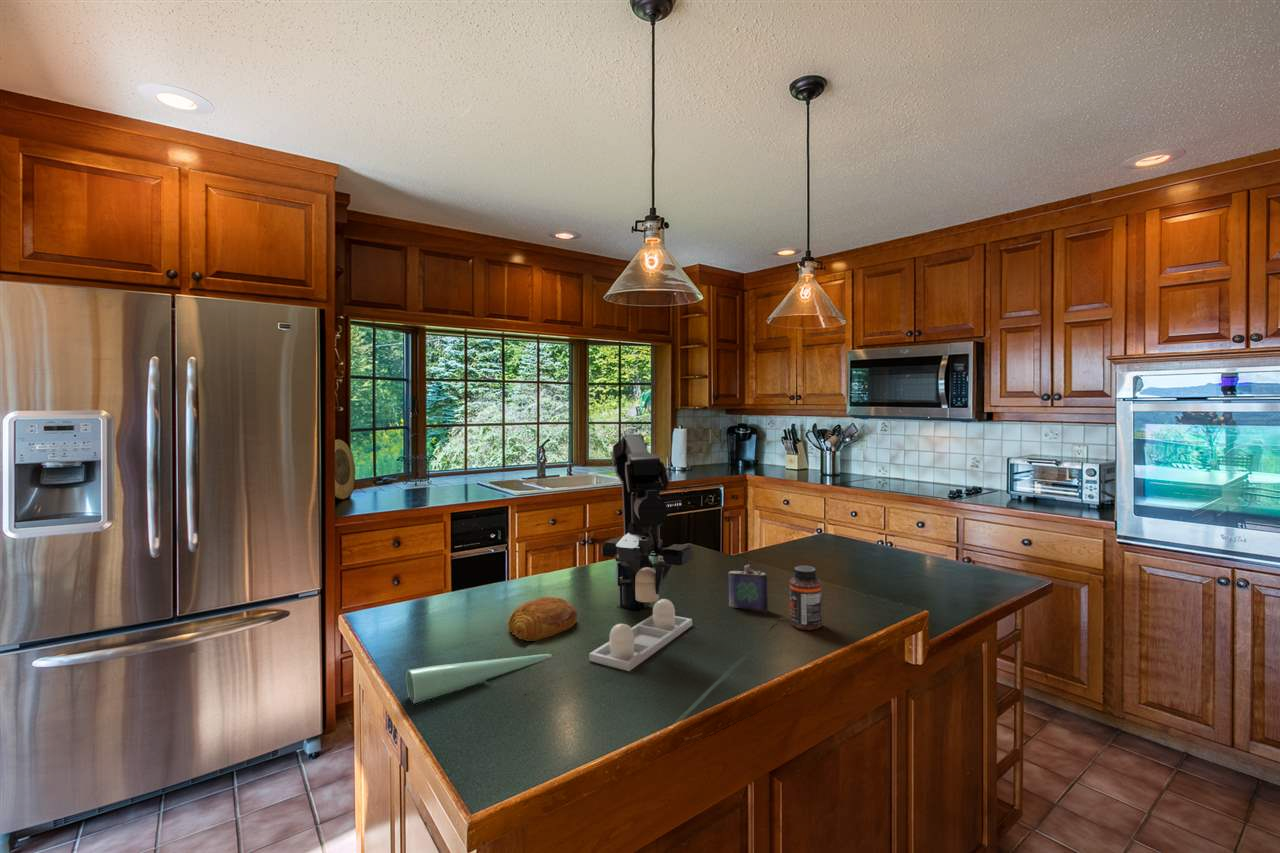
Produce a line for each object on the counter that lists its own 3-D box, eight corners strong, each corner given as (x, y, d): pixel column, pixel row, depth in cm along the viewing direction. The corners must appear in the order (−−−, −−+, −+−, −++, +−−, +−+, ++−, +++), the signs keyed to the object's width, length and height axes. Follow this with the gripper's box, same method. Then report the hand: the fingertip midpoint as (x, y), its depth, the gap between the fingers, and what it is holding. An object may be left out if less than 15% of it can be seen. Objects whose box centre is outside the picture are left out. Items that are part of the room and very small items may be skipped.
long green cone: (557, 636, 112) (413, 676, 96) (558, 664, 112) (414, 709, 96) (544, 628, 117) (405, 665, 101) (545, 655, 117) (406, 696, 101)
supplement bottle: (785, 620, 132) (784, 564, 131) (814, 619, 132) (814, 563, 132) (796, 632, 125) (795, 572, 124) (826, 630, 125) (826, 571, 125)
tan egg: (642, 593, 123) (641, 563, 123) (662, 596, 121) (662, 566, 121) (631, 600, 119) (630, 569, 119) (652, 603, 117) (651, 572, 116)
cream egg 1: (605, 658, 112) (604, 626, 112) (618, 649, 116) (618, 618, 116) (625, 664, 110) (624, 630, 110) (639, 654, 114) (638, 622, 114)
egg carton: (589, 663, 112) (589, 653, 112) (656, 620, 133) (656, 612, 133) (629, 674, 107) (628, 663, 107) (692, 628, 129) (692, 619, 129)
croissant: (587, 637, 131) (591, 601, 131) (530, 649, 119) (534, 610, 120) (548, 620, 141) (552, 587, 141) (492, 630, 129) (496, 594, 130)
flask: (728, 609, 140) (727, 565, 140) (730, 605, 143) (729, 562, 142) (767, 613, 137) (766, 568, 137) (768, 609, 140) (767, 564, 139)
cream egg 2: (649, 630, 126) (648, 601, 126) (660, 623, 130) (659, 594, 130) (668, 634, 124) (667, 604, 124) (679, 626, 128) (678, 598, 128)
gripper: (585, 520, 117) (587, 597, 117) (668, 528, 108) (670, 611, 108) (614, 511, 127) (616, 582, 127) (693, 517, 117) (694, 594, 118)
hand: (647, 592), depth 120 cm, fingers closed on tan egg, 5 cm apart
